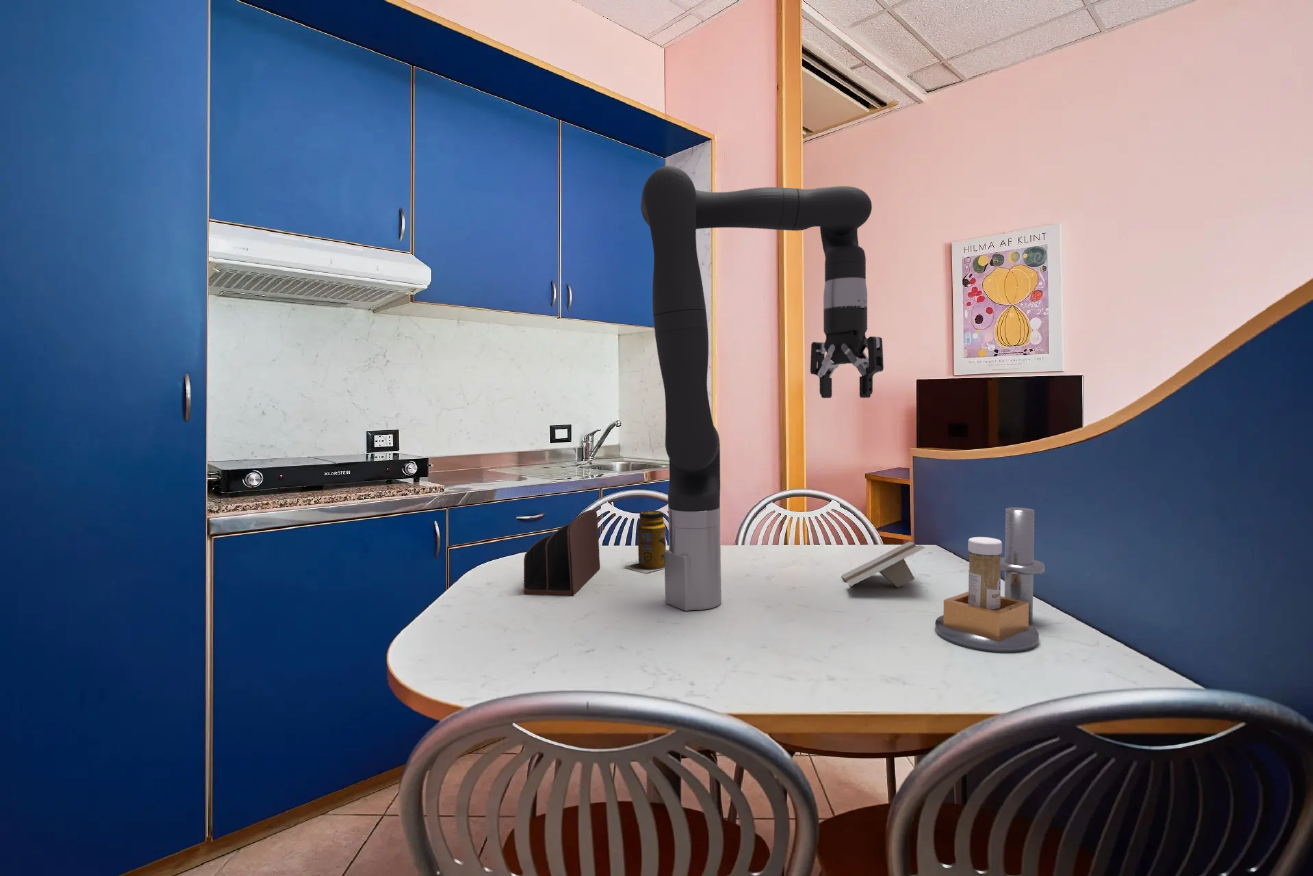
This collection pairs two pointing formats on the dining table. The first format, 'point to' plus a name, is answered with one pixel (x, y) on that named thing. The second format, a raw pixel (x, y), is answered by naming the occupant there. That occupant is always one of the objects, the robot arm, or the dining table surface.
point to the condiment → (650, 542)
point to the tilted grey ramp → (886, 566)
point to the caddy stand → (1016, 608)
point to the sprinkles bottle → (984, 572)
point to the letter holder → (563, 558)
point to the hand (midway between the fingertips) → (845, 397)
